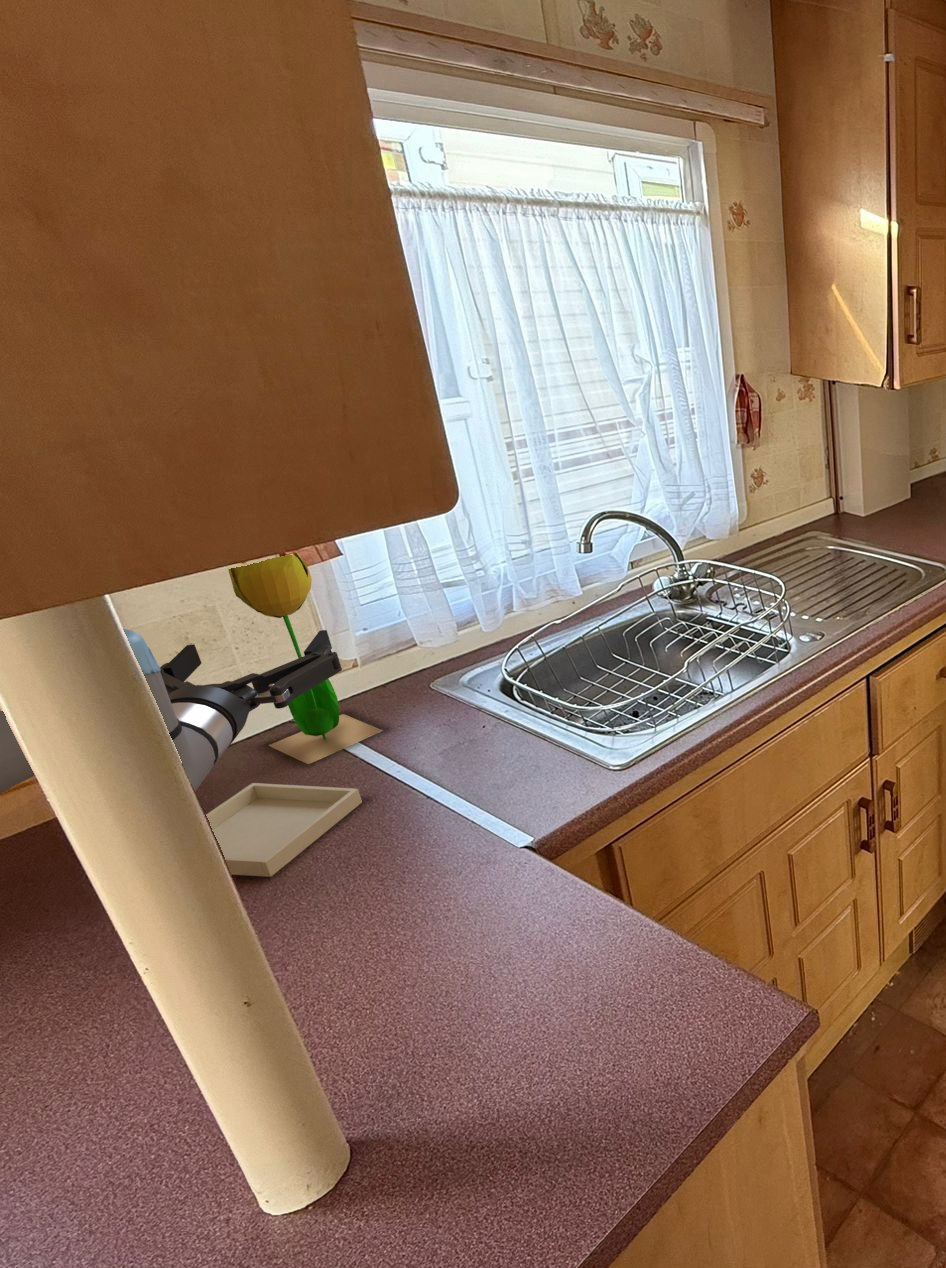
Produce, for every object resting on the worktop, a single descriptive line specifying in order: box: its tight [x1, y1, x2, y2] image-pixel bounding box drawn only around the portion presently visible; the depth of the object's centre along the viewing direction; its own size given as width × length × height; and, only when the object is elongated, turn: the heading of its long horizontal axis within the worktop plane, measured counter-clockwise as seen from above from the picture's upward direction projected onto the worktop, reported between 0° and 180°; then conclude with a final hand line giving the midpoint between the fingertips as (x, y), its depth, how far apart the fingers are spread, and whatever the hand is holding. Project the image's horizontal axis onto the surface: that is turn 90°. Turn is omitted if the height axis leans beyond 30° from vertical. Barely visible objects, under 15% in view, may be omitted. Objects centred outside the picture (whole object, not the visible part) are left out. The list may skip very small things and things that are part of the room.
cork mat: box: [267, 713, 384, 765], centre depth 125 cm, size 10×10×1 cm
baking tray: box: [205, 782, 363, 878], centre depth 106 cm, size 14×14×3 cm
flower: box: [227, 552, 340, 739], centre depth 119 cm, size 9×8×30 cm
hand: (261, 646), depth 110 cm, fingers open, 13 cm apart
